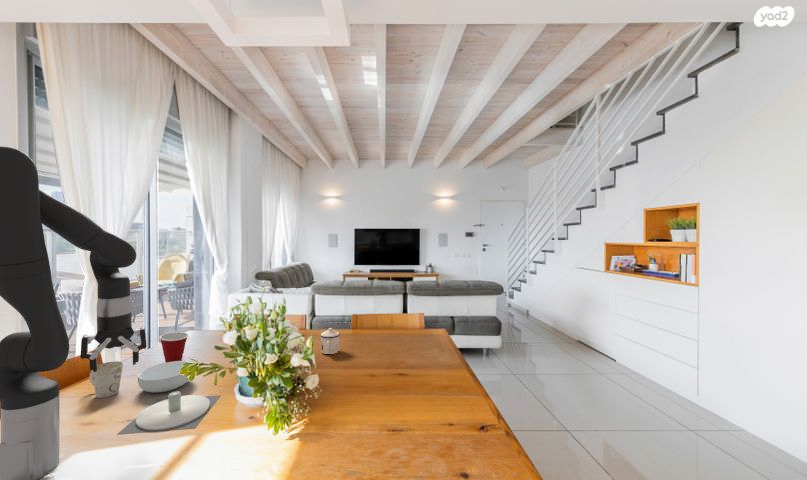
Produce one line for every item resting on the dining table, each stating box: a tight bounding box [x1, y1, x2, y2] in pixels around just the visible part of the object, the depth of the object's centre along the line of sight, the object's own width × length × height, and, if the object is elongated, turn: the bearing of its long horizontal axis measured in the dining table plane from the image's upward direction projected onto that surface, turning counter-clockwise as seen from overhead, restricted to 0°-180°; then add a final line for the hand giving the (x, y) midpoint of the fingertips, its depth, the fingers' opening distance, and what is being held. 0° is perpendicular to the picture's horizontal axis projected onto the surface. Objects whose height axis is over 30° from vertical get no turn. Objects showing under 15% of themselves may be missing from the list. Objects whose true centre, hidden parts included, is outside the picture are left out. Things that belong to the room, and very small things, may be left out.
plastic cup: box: [159, 331, 190, 363], centre depth 147 cm, size 11×11×12 cm
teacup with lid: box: [320, 327, 341, 354], centre depth 160 cm, size 12×9×12 cm
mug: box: [88, 360, 124, 399], centre depth 118 cm, size 8×13×10 cm, turn 79°
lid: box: [135, 390, 210, 430], centre depth 105 cm, size 19×19×6 cm
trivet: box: [116, 395, 221, 435], centre depth 105 cm, size 20×20×1 cm
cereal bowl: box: [137, 360, 194, 393], centre depth 122 cm, size 17×17×7 cm
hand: (115, 367), depth 96 cm, fingers open, 8 cm apart
